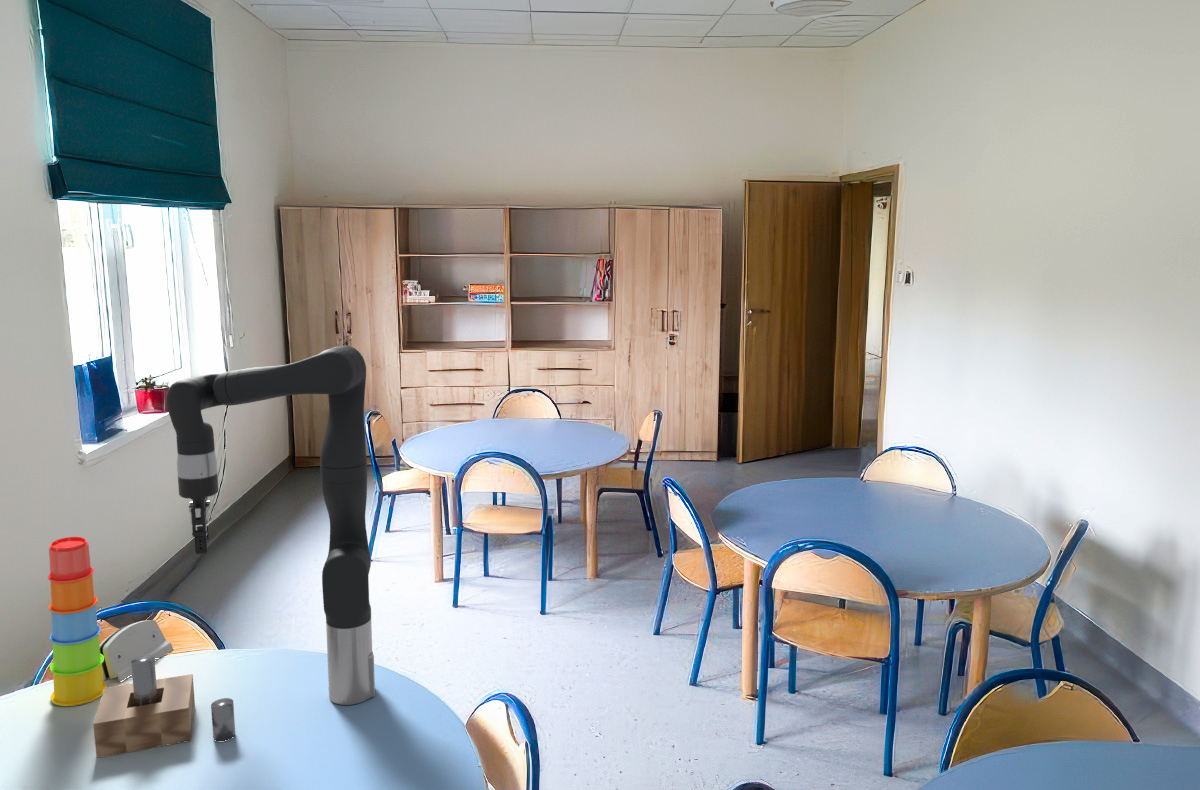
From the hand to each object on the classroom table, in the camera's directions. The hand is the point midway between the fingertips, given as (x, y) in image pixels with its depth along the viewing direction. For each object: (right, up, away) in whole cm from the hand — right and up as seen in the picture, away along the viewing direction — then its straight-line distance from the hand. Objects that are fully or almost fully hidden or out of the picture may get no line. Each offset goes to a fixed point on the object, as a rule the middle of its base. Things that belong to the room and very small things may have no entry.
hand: (202, 546), depth 180 cm
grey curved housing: (-23, -30, +15) cm, 41 cm away
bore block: (-5, -35, -11) cm, 37 cm away
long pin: (-6, -34, -11) cm, 37 cm away
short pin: (+10, -35, -13) cm, 39 cm away
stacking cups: (-27, -32, +1) cm, 42 cm away
